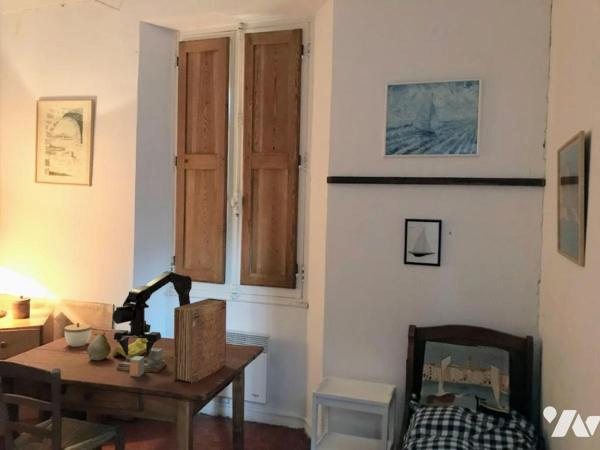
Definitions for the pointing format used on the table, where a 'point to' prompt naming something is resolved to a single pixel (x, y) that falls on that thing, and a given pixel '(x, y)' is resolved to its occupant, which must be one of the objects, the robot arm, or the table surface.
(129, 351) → the plastic component
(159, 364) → the rail
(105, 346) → the fruit
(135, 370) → the grey green block
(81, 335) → the lidded bowl
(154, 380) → the table surface
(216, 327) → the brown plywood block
